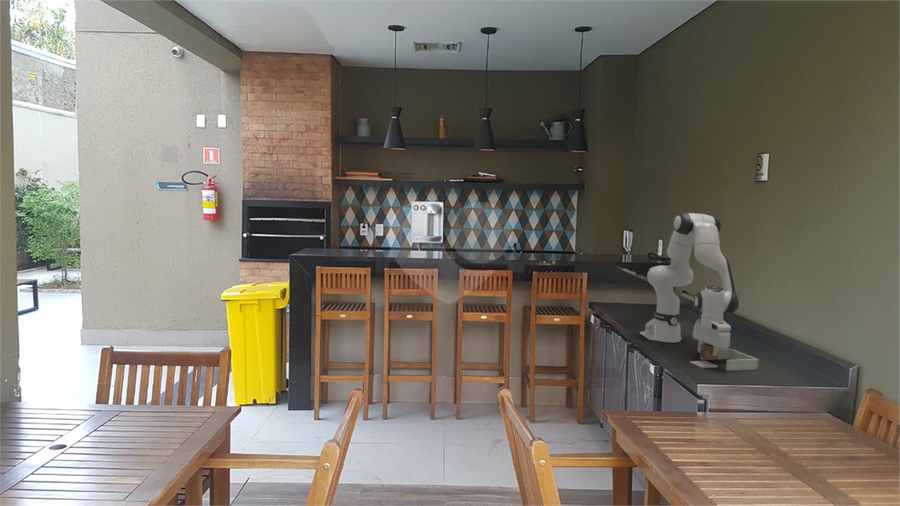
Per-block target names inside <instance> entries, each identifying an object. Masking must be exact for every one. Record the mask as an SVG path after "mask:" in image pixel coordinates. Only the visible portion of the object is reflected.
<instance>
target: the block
mask: <svg viewBox="0 0 900 506" xmlns="http://www.w3.org/2000/svg"><path fill="white" fill-rule="evenodd" d="M713 350H714V348H713V345H710V344H701V353H700V354H699V357H702V358H704V359H706V360H705V361H717V360H718V359H717V358H718V352H717V356H713V355H711V352H712V351H713Z"/></svg>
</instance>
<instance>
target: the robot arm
mask: <svg viewBox="0 0 900 506" xmlns="http://www.w3.org/2000/svg"><path fill="white" fill-rule="evenodd" d="M672 223H673V224H672V225H673V232H672V234H671V236H670V241H669V243H668V246H667V250H666V254H667V256H668V257H669V259H670V264H669V265H656V266H652V267H650V268H649V270H648V271H647V275H646V278H647V280H648V283H649V284H650V285H651V286H652V287H653V288H654V290H655V294H656V311H653V318H652V319H650V320H649V321H648V322H646V323H645V327H644V330H642V331H639V334H640V335H642V336H643V337H645V338H647V339H648V340H650V341H657V342H663V343H679V342H681V341H682V339H683V338H682V336H681V324H680V322H679V321H680V318H681V316H680V306H681V299H680V298H679V296H678V295H676V294H675V292H674V288H675V287H685V286H688V285H690V284H692V283H693V280H694V277H695V276H694V272H693V271H694V270H692V268H691V267H690V256H691V252H692V250H693V252H694V257H695V259H696V260H697V262H698V263H700V264H701V265H703V266H705V267H708V268H710V269H712V270H714V271H716V272H717V273H718V274H719V276H720V278H721V279H720V280H721V283H722V284H721V285H722V287H721V286H718V285H706V286H705V288H704V290H700V291H698V292H697V293H696V294H695V295H694V300H693V301H694V302H693V306H694V308H695V309H696V310H698V311H699V312H701V317H700V318H698V319H696V320H695V323H694V324H693V325H694V326H693V330H692V337H693V339H694V340H700V344H706V343H708V344H710V345H713V348H714V350H713V351H712V352H711V355H713V356H717V352H718V350H719V349H729V347H730V345H731V332H730V331H731V330H732V327H731V325H730V324H729V323H727V322H726V320H724V315H729V316H730V315H733V314H734V313H735V312H737V311H738V309H739V308H740V307H739V306H740V304H739V302H740V301H739V298H738V294H737V291H736V288H735V283H734V277H733V274H732V270H731V264H730V261H729V259H728V258H727V257H725V256H724V255H723V253H722V251H721V242H720V231H721V229H722V221H721V220H720V219H719V218H718V217H717V216H716V215H715V216H714V215H709V214H704V213H695V212H679V213H677V214H676V216H675V217H674V219H673V222H672Z"/></svg>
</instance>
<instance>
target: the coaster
mask: <svg viewBox="0 0 900 506" xmlns="http://www.w3.org/2000/svg"><path fill="white" fill-rule="evenodd" d="M689 363H690V364H692V365H694V366H697V367H699V368H701V369H704V368H706V369H708V368H709V369H710V368H718V365H716V364H714V363H711V362H709V361H708V360H697V361H696V360H694V361H693V360H690V361H689Z"/></svg>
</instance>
